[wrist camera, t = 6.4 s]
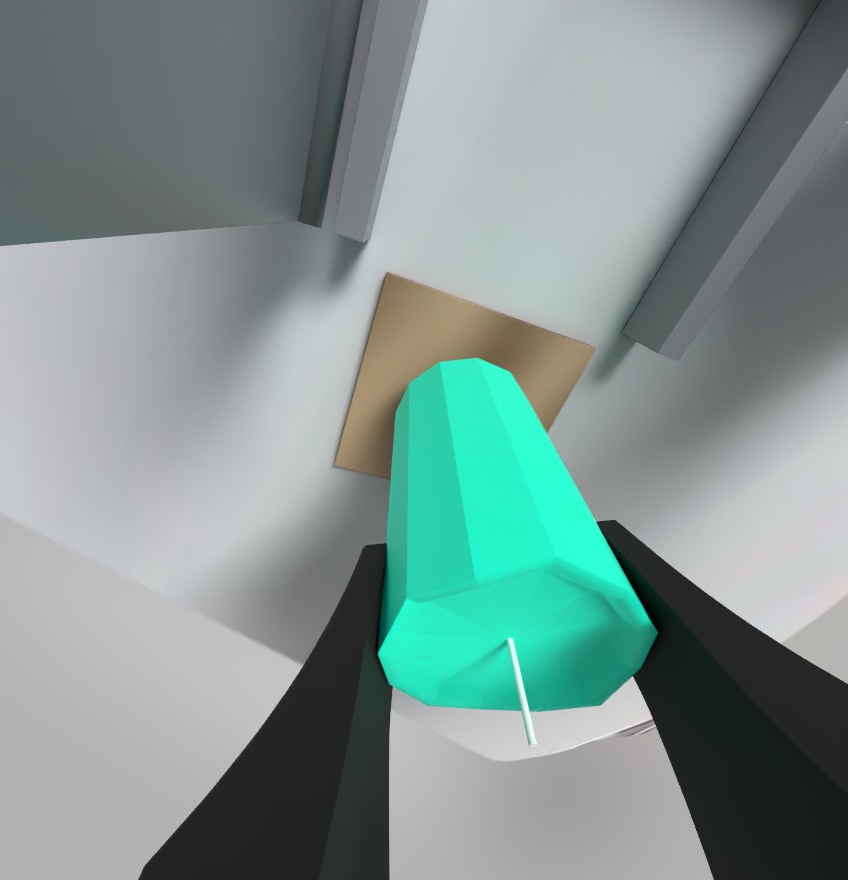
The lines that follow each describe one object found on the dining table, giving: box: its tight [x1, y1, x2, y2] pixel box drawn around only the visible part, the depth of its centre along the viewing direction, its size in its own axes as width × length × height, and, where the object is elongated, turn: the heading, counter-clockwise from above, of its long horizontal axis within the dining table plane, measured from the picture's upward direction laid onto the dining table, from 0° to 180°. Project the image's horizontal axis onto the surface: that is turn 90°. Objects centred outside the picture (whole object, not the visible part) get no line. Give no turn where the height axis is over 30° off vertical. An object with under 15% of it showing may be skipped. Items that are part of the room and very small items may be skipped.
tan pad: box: [334, 272, 596, 480], centre depth 19 cm, size 10×10×1 cm
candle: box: [378, 358, 658, 747], centre depth 12 cm, size 6×6×12 cm
